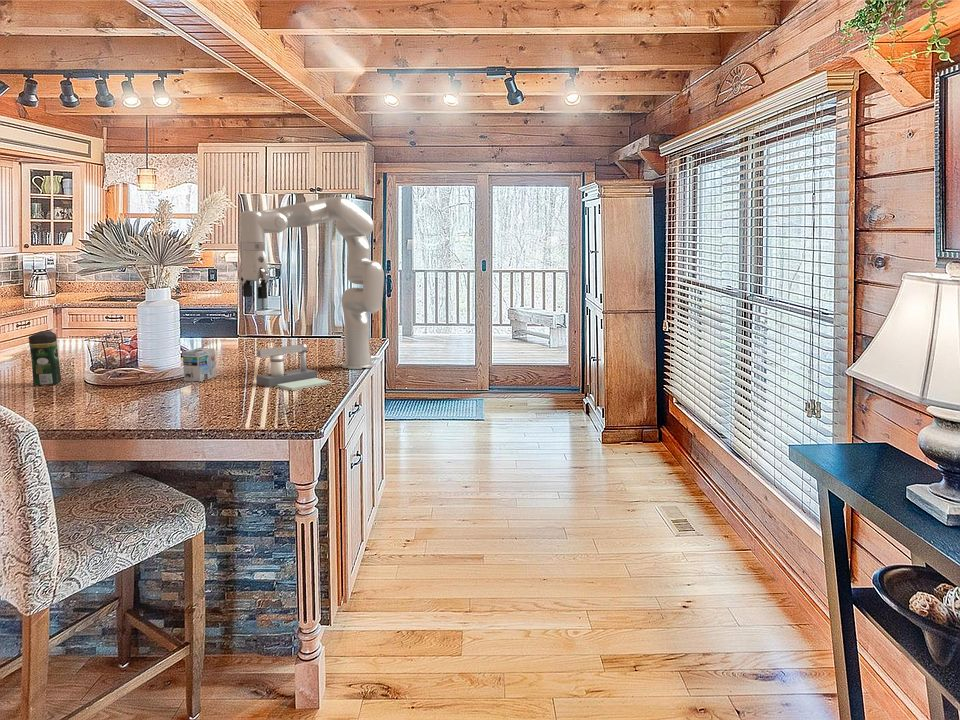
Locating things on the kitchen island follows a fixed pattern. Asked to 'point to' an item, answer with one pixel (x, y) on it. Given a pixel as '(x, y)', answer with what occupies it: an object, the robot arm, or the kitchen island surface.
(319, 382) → the mat
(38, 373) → the coffee jar
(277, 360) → the plug
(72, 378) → the kitchen island surface
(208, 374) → the light bulb box
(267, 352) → the silver metal bar
